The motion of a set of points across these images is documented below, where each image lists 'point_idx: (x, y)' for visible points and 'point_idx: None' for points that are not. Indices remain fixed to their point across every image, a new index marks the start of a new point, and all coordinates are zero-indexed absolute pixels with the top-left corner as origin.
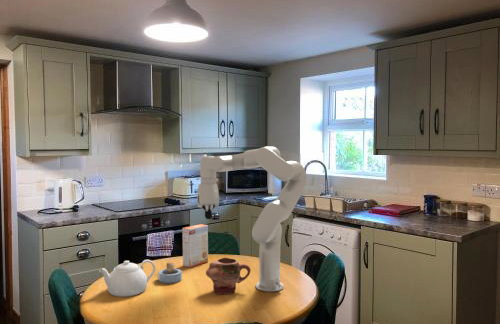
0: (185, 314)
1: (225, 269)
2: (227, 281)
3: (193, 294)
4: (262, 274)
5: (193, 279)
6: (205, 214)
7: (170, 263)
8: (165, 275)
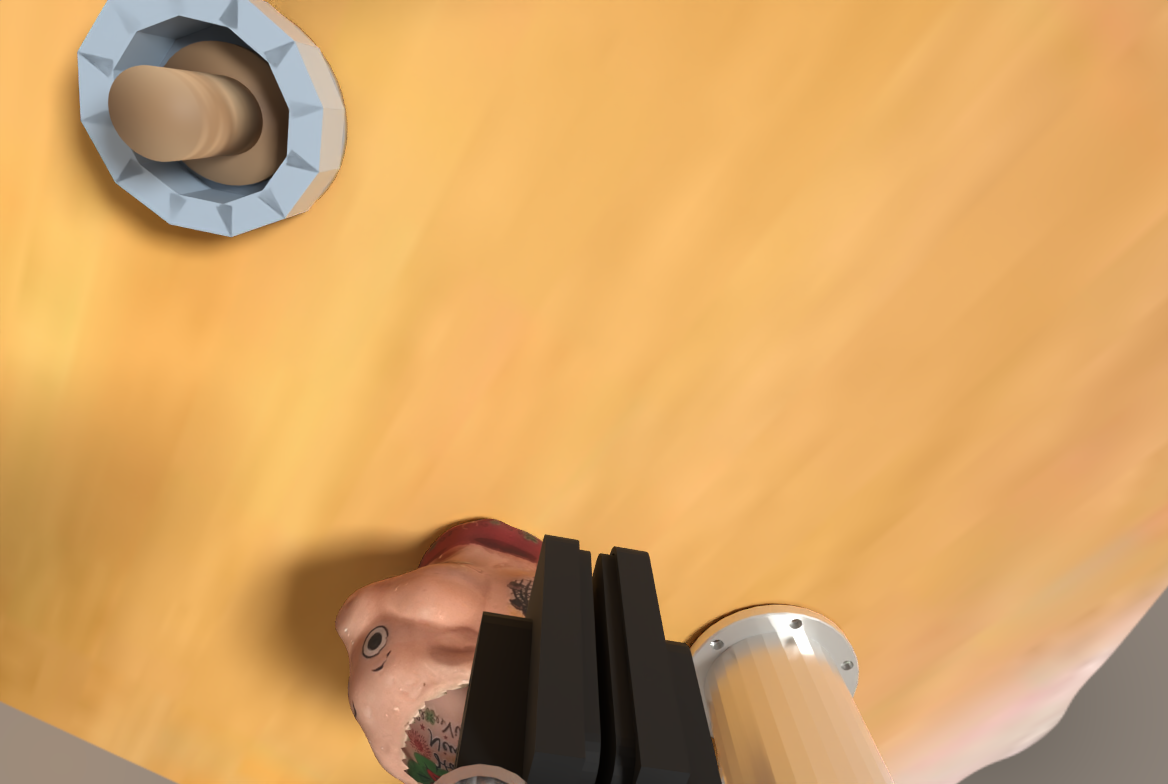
0: (131, 711)
1: (429, 772)
2: (454, 707)
3: (286, 512)
4: (720, 762)
5: (433, 237)
6: (463, 719)
7: (156, 113)
8: (126, 189)
